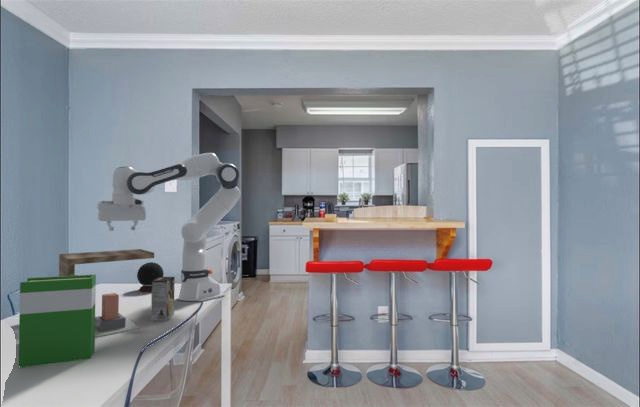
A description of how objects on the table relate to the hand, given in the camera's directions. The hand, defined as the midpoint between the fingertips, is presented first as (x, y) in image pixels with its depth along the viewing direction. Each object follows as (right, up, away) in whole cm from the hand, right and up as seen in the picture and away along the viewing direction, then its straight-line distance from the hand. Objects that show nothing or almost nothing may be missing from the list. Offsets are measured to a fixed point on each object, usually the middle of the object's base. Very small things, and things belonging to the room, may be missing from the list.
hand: (122, 230), depth 180 cm
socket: (+14, -34, -37) cm, 52 cm away
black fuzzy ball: (+1, -35, +28) cm, 45 cm away
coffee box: (+28, -35, -23) cm, 50 cm away
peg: (+14, -34, -37) cm, 52 cm away
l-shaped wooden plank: (+14, -34, -37) cm, 52 cm away
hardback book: (+15, -34, -65) cm, 75 cm away
